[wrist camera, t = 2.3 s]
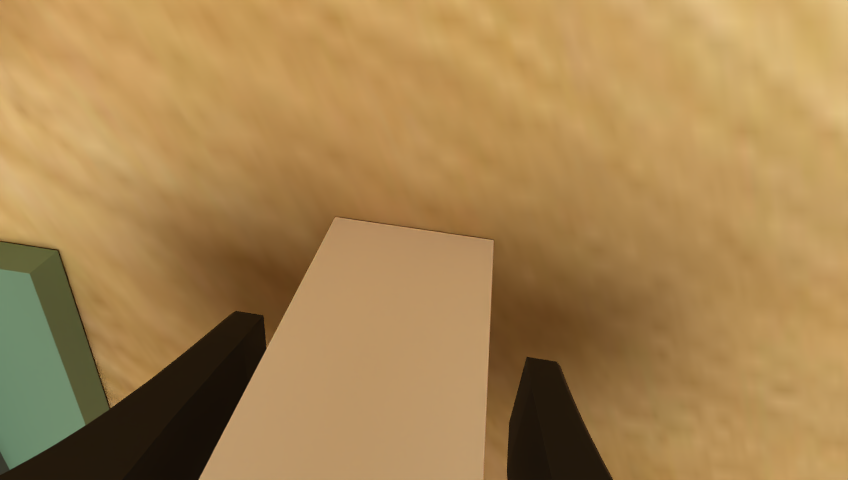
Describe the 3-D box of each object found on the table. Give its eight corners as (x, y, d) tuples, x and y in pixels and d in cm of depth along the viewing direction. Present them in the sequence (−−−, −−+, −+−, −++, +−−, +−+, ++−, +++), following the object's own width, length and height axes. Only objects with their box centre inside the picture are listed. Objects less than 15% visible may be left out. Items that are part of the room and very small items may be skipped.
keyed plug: (493, 240, 12) (480, 558, 7) (462, 403, 15) (433, 723, 10) (335, 216, 13) (185, 506, 7) (334, 382, 16) (229, 683, 10)
